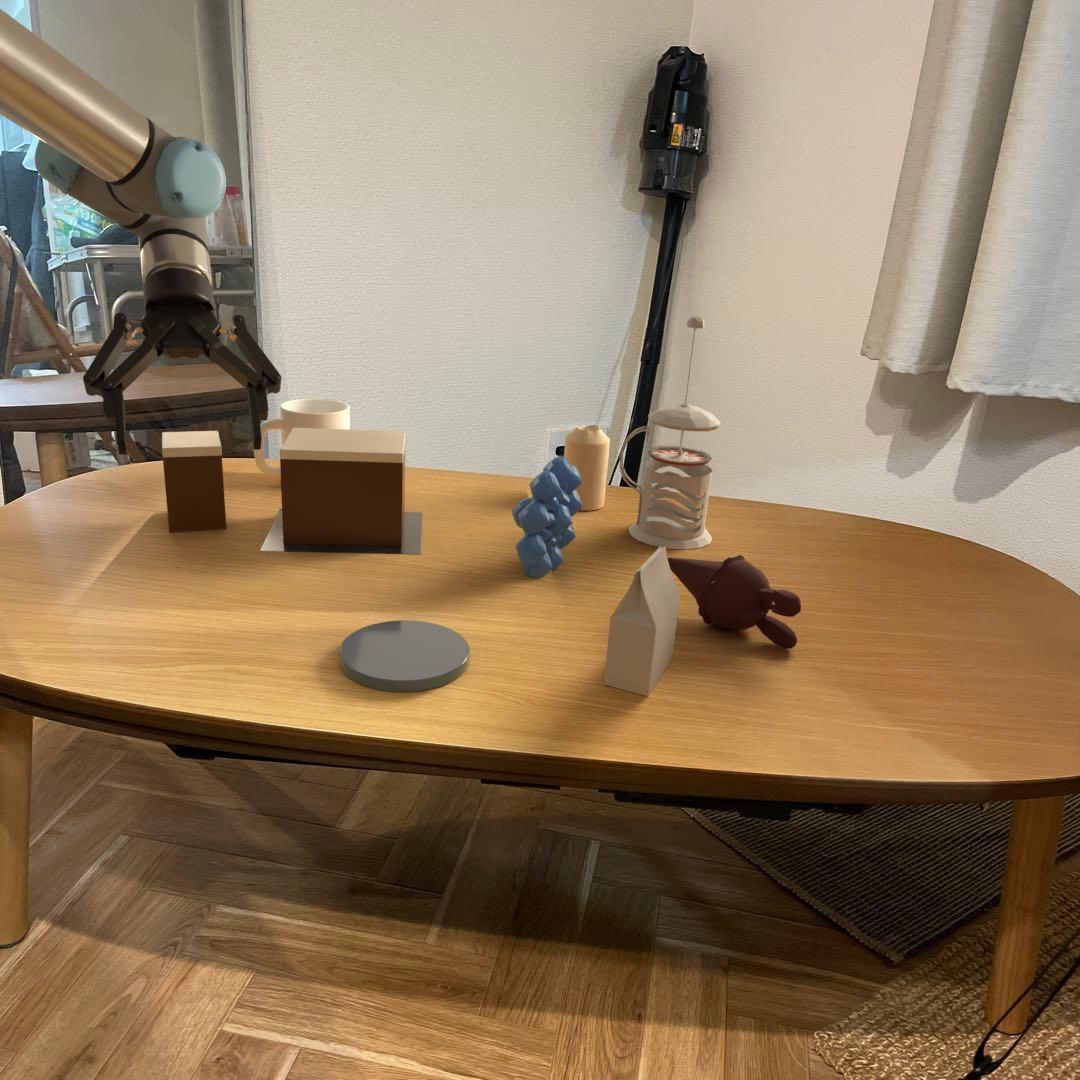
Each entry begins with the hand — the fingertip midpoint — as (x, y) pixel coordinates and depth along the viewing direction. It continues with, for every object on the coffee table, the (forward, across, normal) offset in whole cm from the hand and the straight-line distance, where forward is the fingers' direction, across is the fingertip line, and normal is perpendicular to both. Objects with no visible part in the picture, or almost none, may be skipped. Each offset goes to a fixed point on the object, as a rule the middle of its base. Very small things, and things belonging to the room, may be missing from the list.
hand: (191, 446), depth 96 cm
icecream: (+33, -44, +20) cm, 59 cm away
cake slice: (+8, 0, -4) cm, 9 cm away
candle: (+8, -46, -4) cm, 47 cm away
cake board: (+12, -15, 0) cm, 19 cm away
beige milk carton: (+37, -32, +25) cm, 55 cm away
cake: (+12, -15, +1) cm, 19 cm away
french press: (+16, -51, +4) cm, 53 cm away
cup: (-1, -13, -13) cm, 19 cm away
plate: (+32, -15, +20) cm, 40 cm away
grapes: (+22, -32, +9) cm, 40 cm away
